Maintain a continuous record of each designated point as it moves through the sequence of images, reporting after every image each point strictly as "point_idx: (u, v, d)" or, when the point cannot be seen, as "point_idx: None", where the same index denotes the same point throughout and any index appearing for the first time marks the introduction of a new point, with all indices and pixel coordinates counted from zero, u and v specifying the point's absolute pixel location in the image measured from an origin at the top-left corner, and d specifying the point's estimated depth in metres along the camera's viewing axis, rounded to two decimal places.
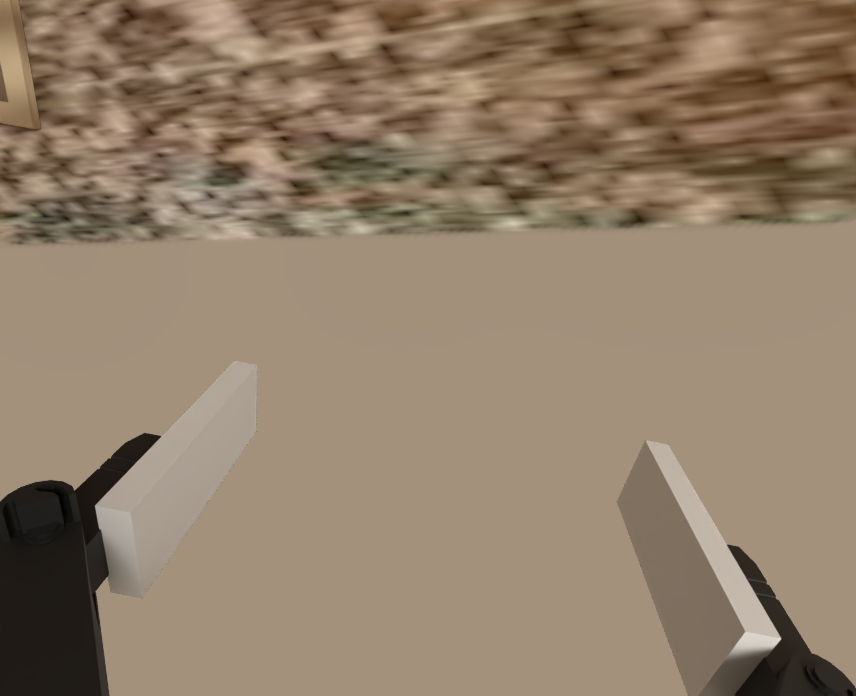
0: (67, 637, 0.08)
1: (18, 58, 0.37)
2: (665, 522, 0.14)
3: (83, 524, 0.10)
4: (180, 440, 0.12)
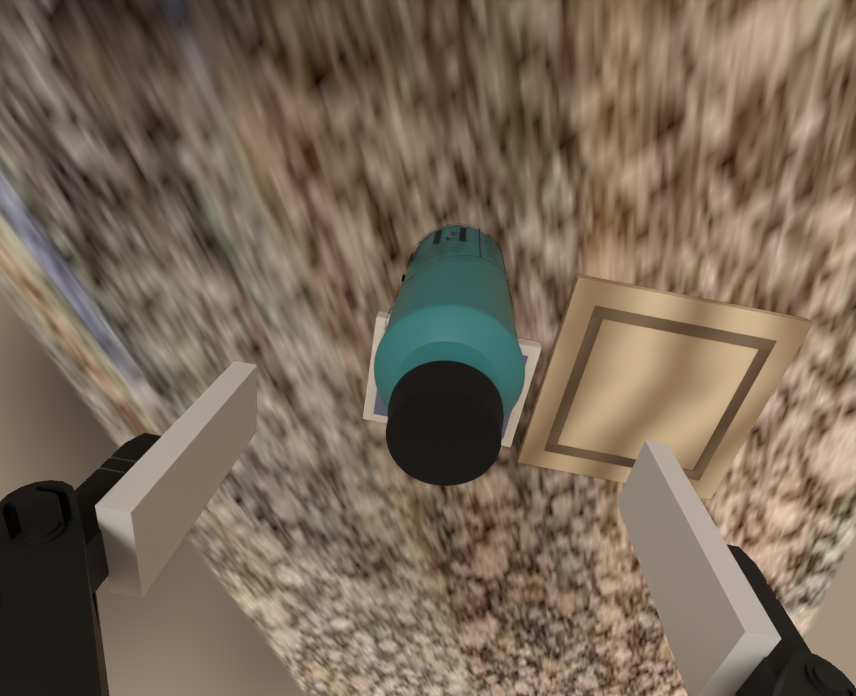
0: (67, 637, 0.08)
1: (739, 310, 0.33)
2: (666, 523, 0.14)
3: (83, 524, 0.10)
4: (180, 440, 0.12)
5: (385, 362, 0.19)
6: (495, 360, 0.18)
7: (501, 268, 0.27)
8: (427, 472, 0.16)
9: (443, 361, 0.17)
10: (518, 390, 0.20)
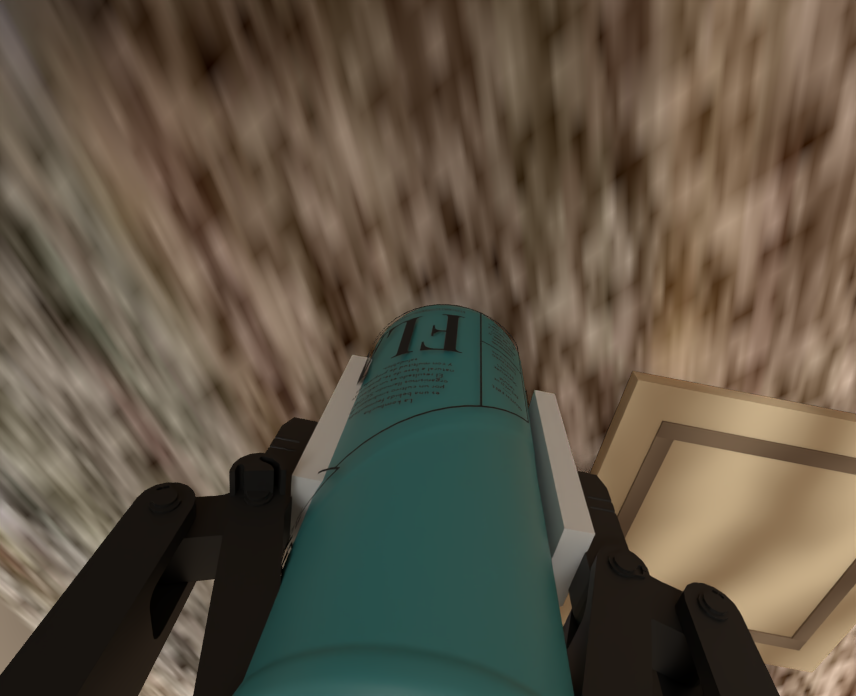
0: (260, 594, 0.09)
1: None
2: (537, 456, 0.15)
3: None
4: (336, 423, 0.14)
5: None
6: None
7: (519, 400, 0.15)
8: None
9: None
10: None
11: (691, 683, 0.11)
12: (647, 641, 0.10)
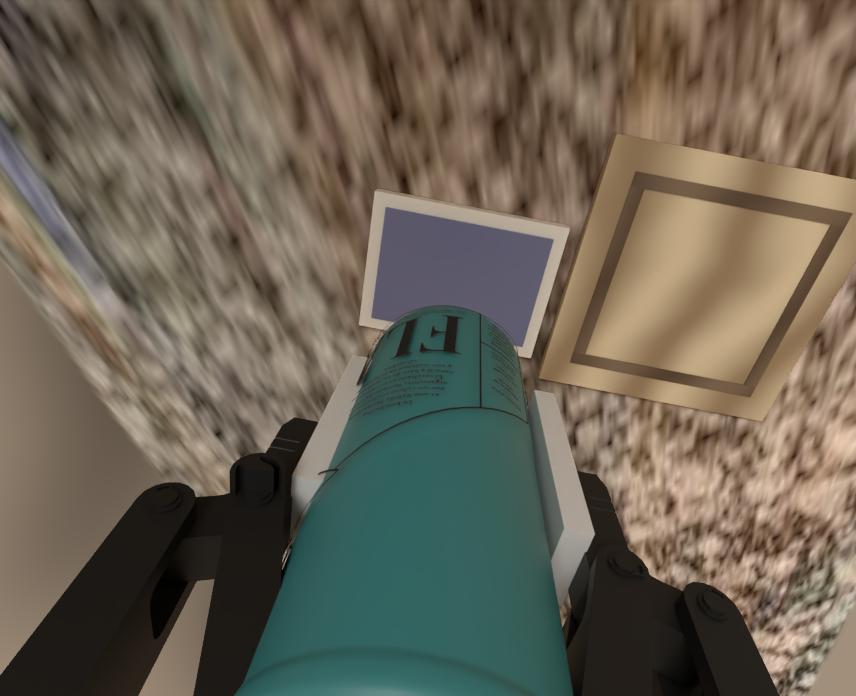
0: (260, 594, 0.09)
1: (809, 174, 0.27)
2: (537, 456, 0.15)
3: None
4: (336, 423, 0.14)
5: None
6: None
7: (519, 401, 0.15)
8: None
9: None
10: None
11: (691, 683, 0.11)
12: (648, 642, 0.10)
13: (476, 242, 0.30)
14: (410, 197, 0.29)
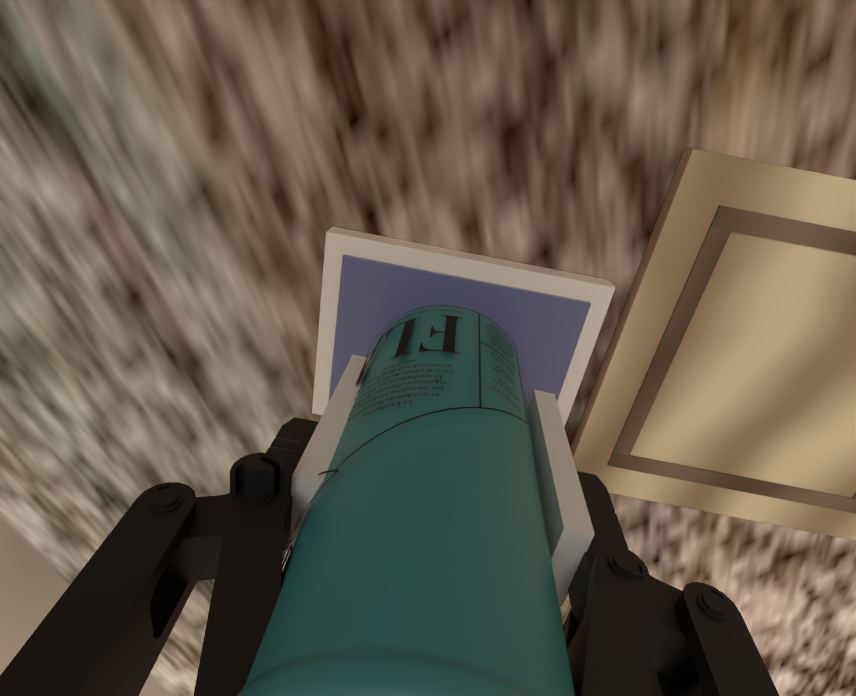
0: (260, 594, 0.09)
1: None
2: (537, 456, 0.15)
3: None
4: (336, 423, 0.14)
5: None
6: None
7: (518, 401, 0.15)
8: None
9: None
10: None
11: (691, 683, 0.11)
12: (648, 642, 0.10)
13: (476, 306, 0.20)
14: (379, 241, 0.20)
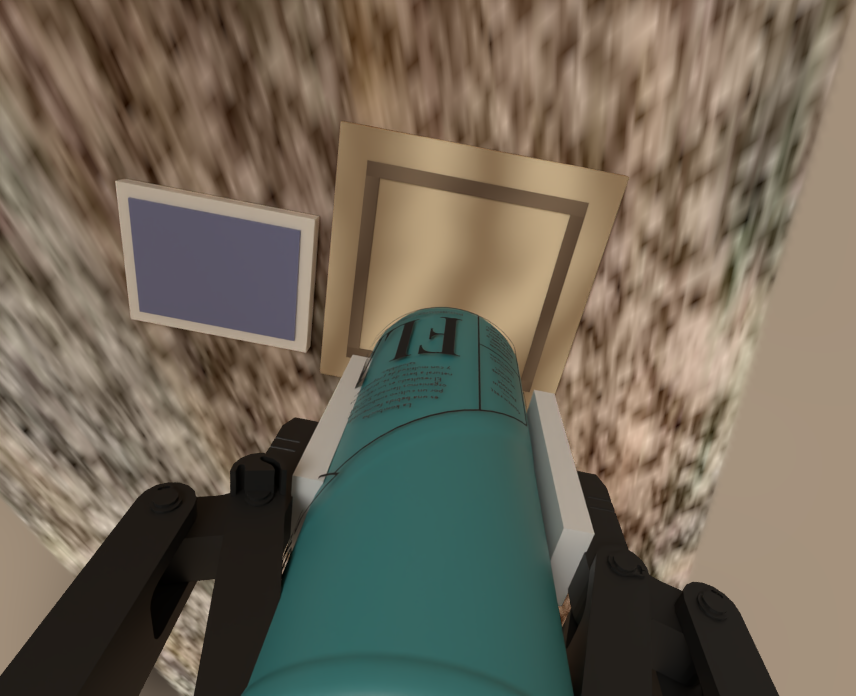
0: (260, 594, 0.09)
1: (538, 162, 0.27)
2: (536, 456, 0.15)
3: None
4: (336, 422, 0.14)
5: None
6: None
7: (518, 403, 0.15)
8: None
9: None
10: None
11: (691, 683, 0.11)
12: (647, 641, 0.10)
13: (224, 233, 0.29)
14: (152, 187, 0.29)
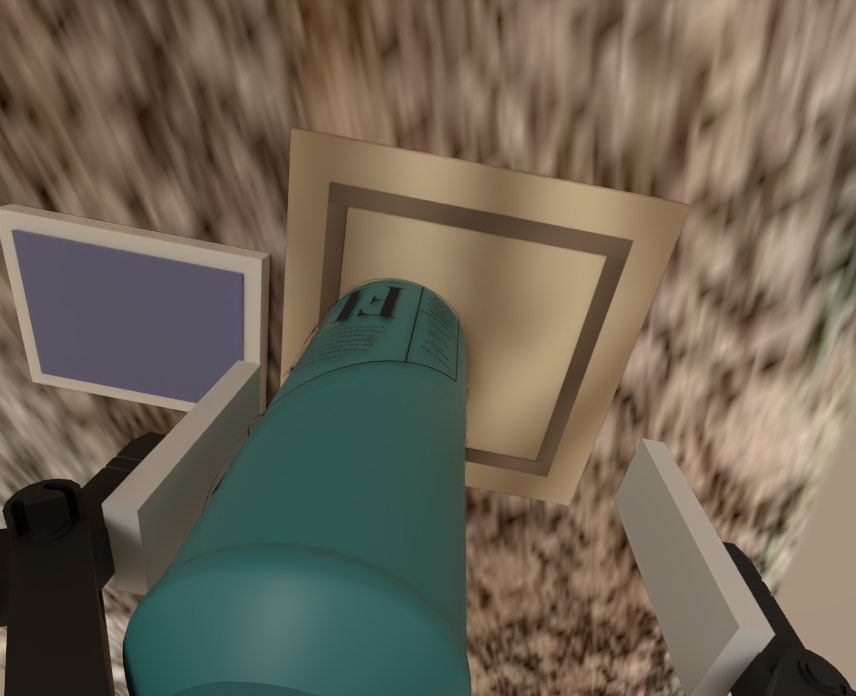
0: (73, 635, 0.08)
1: (565, 186, 0.19)
2: (662, 520, 0.14)
3: (89, 522, 0.10)
4: (185, 439, 0.12)
5: (130, 685, 0.08)
6: None
7: (452, 363, 0.16)
8: None
9: None
10: None
11: None
12: None
13: (143, 277, 0.22)
14: (43, 217, 0.21)
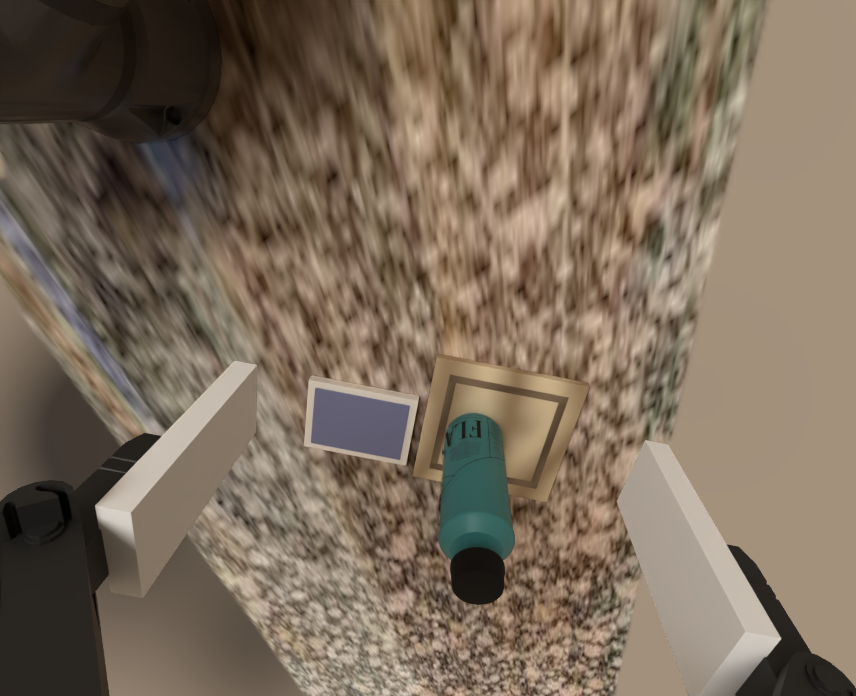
0: (67, 637, 0.08)
1: (541, 378, 0.50)
2: (665, 522, 0.14)
3: (83, 524, 0.10)
4: (180, 440, 0.12)
5: (446, 537, 0.39)
6: (500, 539, 0.38)
7: (501, 452, 0.47)
8: (470, 599, 0.36)
9: (477, 547, 0.36)
10: (511, 548, 0.39)
11: None
12: None
13: (367, 406, 0.53)
14: (329, 383, 0.52)
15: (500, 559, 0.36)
